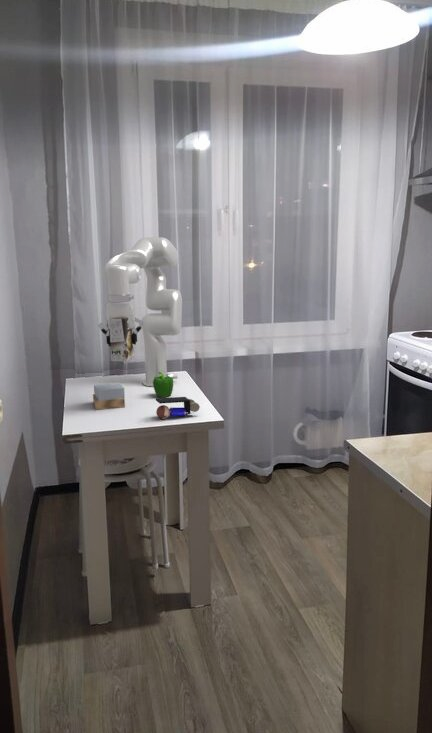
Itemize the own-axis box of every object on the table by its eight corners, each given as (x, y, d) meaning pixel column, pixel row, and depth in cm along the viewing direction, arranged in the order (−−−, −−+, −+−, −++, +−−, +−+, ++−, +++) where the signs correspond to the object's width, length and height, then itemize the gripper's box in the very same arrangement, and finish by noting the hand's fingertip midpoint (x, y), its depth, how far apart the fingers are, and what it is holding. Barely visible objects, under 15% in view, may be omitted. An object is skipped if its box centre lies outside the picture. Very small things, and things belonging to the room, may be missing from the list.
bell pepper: (175, 397, 237) (175, 373, 235) (156, 399, 234) (155, 375, 232) (171, 392, 245) (170, 369, 243) (152, 394, 242) (151, 371, 240)
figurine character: (192, 415, 217) (153, 416, 211) (194, 395, 216) (155, 395, 210) (198, 420, 211) (158, 421, 205) (200, 400, 210) (160, 400, 204)
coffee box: (127, 361, 214) (125, 318, 211) (110, 361, 215) (108, 318, 212) (134, 356, 223) (132, 315, 220) (118, 356, 224) (116, 314, 221)
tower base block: (121, 401, 234) (120, 391, 233) (124, 408, 224) (124, 398, 223) (93, 404, 231) (92, 394, 230) (96, 411, 221) (95, 401, 220)
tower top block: (119, 391, 233) (118, 382, 232) (124, 398, 224) (124, 388, 223) (94, 394, 230) (93, 384, 229) (98, 400, 221) (98, 390, 220)
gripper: (140, 296, 220) (143, 341, 224) (94, 299, 215) (97, 344, 219) (144, 299, 213) (146, 345, 217) (97, 301, 208) (100, 348, 212)
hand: (122, 344), depth 218 cm, fingers closed on coffee box, 8 cm apart
